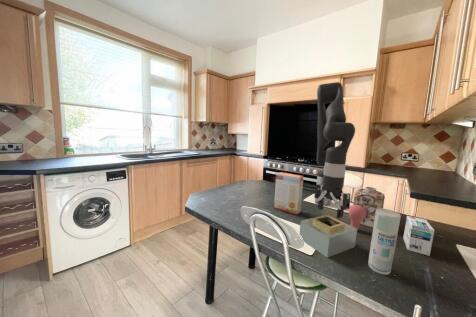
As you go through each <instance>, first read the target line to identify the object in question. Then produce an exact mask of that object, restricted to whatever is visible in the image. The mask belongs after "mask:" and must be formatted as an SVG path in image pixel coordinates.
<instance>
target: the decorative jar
mask: <svg viewBox="0 0 476 317" xmlns="http://www.w3.org/2000/svg"><path fill="white" fill-rule="evenodd" d="M385 199H386V197H385V193H382V192H380V191H378V190H377V188H375V187H372V186H365V187H364V188H358V189H356V191H355V192H354V196H353V201H352V205H360V206H362V207H363V208H364V209H365V211H366V216H365V218H364V219H363V220H362V221H361V224H360V225H363V226H366V227H369V228H372V229H373V226H374V219H375V212H376V209H379V208H382V209H384V205H385Z"/></svg>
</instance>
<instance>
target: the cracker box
mask: <svg viewBox="0 0 476 317" xmlns="http://www.w3.org/2000/svg"><path fill="white" fill-rule="evenodd" d="M303 185H304V175H299V174H293V173H287V172H282V171H281V172H277V173H276V174H275V188H274V189H275V190H274V202H273V209H276V210H280V211H283V212H287V213H290V214H293V215H295V216H296V215H299V214H300V213H301V210H302V197H303V188H304V186H303Z"/></svg>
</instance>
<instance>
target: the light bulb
mask: <svg viewBox="0 0 476 317" xmlns="http://www.w3.org/2000/svg"><path fill="white" fill-rule="evenodd" d="M347 213H348V216H349V219H350V224H349V225H350V226H352V227H354V228H356V229H357V231H359V229H360V225H362V224H361V221H362V220H363V219H364V218H365V216H366V211H365V209H364V208H363V207H362V206H360V205H353V204H352V205H350V208H349V209H347Z"/></svg>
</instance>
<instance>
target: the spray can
mask: <svg viewBox="0 0 476 317" xmlns="http://www.w3.org/2000/svg"><path fill="white" fill-rule="evenodd" d="M401 217H402V216H401V213H399V212H397V211H394V210H391V209H388V208H383V209H382V208H379V209H376V212H375V219H374V226H373V228H372V234H371V239H370V241H371V242H370V248H369V254H368V262H367V263H368V264H367V265H368V267H369V268H370V269H371V270H372V271H373V272H376V273H377V274H381V275H385V276H386V275H390V273H391V271H392V267H393V266H392V265H393V260H394V255H395V250H396V245H397V239H398V234H399V228H400V222H401Z"/></svg>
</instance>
